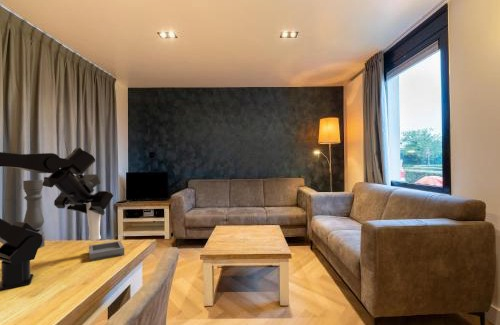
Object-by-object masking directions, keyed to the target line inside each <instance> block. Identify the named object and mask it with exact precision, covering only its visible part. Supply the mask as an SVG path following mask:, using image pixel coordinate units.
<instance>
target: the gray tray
mask: <svg viewBox="0 0 500 325" xmlns="http://www.w3.org/2000/svg"><path fill="white" fill-rule="evenodd" d="M88 254H89V261H90V262H93V261H98V260H105V259H110V258H115V257H122V256H125V247H124V245H123V243H122V242H121V240H116V241H110V242H103V243H97V244H96V243H95V244H91V245H88Z"/></svg>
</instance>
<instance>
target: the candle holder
mask: <svg viewBox="0 0 500 325" xmlns="http://www.w3.org/2000/svg"><path fill="white" fill-rule="evenodd" d="M43 181H44V179H29V180H23V182H22V188H23V190H24V194H26V196H24V200H25V201H26V210H25V215H24V219H23V222H24V223H27V224H29V225H30V226H31V227H32V228H34V229H38V230H40V231H39V232H38V233H40V234H41V235H42V237H43V238H42V239H43V241H42V245H41V246H40V248H43V247H45V244H46V243H45V242H46V241H45V236H44V231H42V226H43V225H44V223H45V218H44V216H43V213H42V209H41V199H42V198H43V195H41V192H42V189H43V187H44V186H43V185H42V184H43ZM40 248H39V249H40Z"/></svg>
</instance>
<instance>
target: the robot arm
mask: <svg viewBox="0 0 500 325" xmlns="http://www.w3.org/2000/svg"><path fill="white" fill-rule="evenodd" d="M95 162H96V158H95V157H94V155H93V154H90V153H89V152H88V151H86V150H83V149H82V148H81V147H76V148H74V149H73V150H72V152H71V153H70V154H69V155H68V156H66V157H65V158H63V157H60V156H59V155H58V154H57V153H53V152H48V153H47V152H44V153H43V152H42V153H41V152H40V153H24V154H23V153H15V152H14V153H13V152H1V151H0V167H1V168H14V169H20V170H22V171H23V170H24V171H26V172H32V173H37V174H50V175H49V176H44V177H43V184H42V185H43V187H47V188H50V189H51V188H53V187H56V189H58V191H60V193H59V194H58V195H57V197H56V198H55V200H54V202H53V204H54V207H56V208H57V209H65V208H66V206H67V208H66V209H67V210H69V211H70V210H71V211H74V212H79V213H83V214H86V215H87V208H86V204H89V203H91V207H90V208H89V210H90V211H92V212H95V213H97V214H100V215H101V216H104V215H105V209H106V208H107V207H108V205H109V203H110V202H111V201H112V199H113V197H114V194H113V193H112V191H111V190H98V191H97V192H96V193H94V194H92V193H93V192H94V191H95V189H94V188H95V187H97V186H98V185H100V184H101V180H100V177H99V175H98V174H92V173H90V174H85V173H86V172H87V171H88V170H89V168H91V166H92V165H94V163H95ZM40 230H41V229H40ZM40 230H38V229H34V228H32V227H31V226H30V225H29V224H27V223H24V221H17V220H15V221H14V222H13V224H12V223H9V222H8V221H6V220H4V219H2V218H1V217H0V243H1V244H2V245H1V246H0V261H1V262H0V264H1V266H0V267H1V282H0V291H2V290H7V289H12V288H16V287H22V286H28V285H30V284H31V283H32V280H33V278H34V273H31V261H33V260H35V258H36V256H37V253H38V250H39V249H40V246H41V245H42V241H43V239H42V238H43V237H42V236H43V235H41V234H40V233H38V232H39V231H40Z"/></svg>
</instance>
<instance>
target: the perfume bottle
mask: <svg viewBox="0 0 500 325" xmlns="http://www.w3.org/2000/svg"><path fill="white" fill-rule="evenodd" d="M90 207H91V203H89V204H86V208H87V214H86V216H87V225H88V234H89V236H88V238H87V240H88V241H91V242H92V241H99V240H101V239H102V237H101V233H100V232H101V216H102V215H100V214H97V213H95V212H92V211H90V210H89V208H90Z"/></svg>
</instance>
